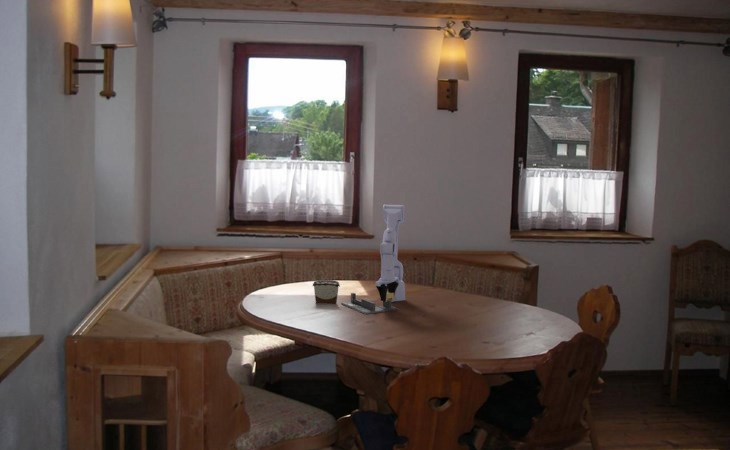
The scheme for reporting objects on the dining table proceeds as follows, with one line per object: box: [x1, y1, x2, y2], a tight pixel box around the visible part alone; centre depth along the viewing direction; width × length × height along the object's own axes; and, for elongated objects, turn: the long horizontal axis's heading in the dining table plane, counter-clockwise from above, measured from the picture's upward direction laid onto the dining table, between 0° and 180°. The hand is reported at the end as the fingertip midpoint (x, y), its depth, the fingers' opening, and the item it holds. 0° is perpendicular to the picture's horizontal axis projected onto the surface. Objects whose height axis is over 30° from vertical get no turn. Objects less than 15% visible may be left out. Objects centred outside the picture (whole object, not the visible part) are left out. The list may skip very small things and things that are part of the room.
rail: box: [340, 292, 386, 315], centre depth 341 cm, size 10×21×5 cm, turn 31°
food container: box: [312, 279, 341, 306], centre depth 350 cm, size 12×6×10 cm, turn 84°
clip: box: [385, 291, 395, 302], centre depth 339 cm, size 4×4×4 cm
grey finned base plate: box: [377, 300, 398, 312], centre depth 340 cm, size 6×7×4 cm
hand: (387, 299), depth 340 cm, fingers closed on clip, 5 cm apart
